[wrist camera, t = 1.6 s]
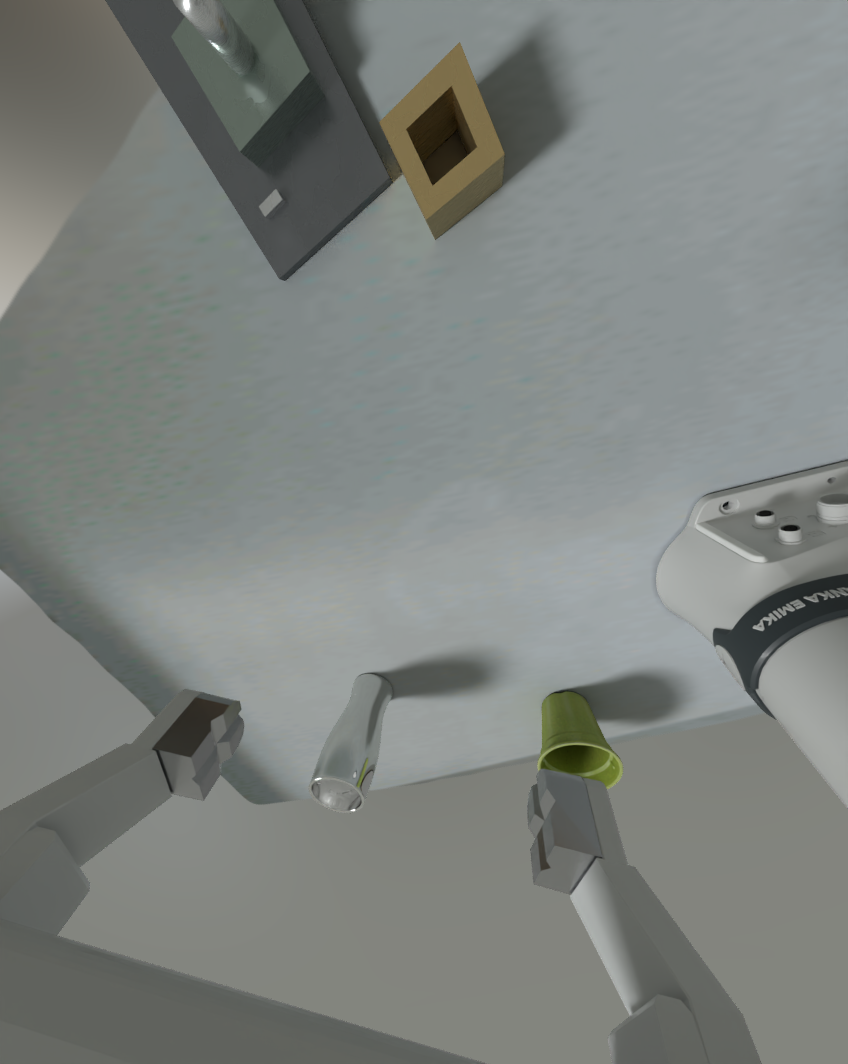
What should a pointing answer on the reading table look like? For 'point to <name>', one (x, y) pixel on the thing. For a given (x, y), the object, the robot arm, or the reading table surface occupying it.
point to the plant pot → (576, 741)
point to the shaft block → (262, 115)
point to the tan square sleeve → (428, 123)
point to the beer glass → (352, 748)
